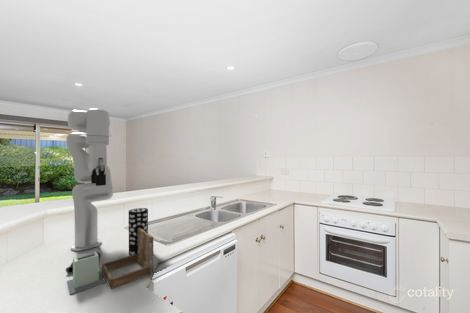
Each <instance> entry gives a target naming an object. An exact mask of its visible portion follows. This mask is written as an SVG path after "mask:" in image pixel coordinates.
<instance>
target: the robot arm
mask: <svg viewBox="0 0 470 313" xmlns="http://www.w3.org/2000/svg"><path fill="white" fill-rule="evenodd" d="M110 124H111V120H110V114H109V112H108V111H107V110H105V109H102V108H101V109H100V108H89V109H87V110H80V109H73V110H70V112H69V113H68V115H67V125H68V127H69V129H70V130H73V131H77V132H72V133H68V134H67V136H66V138H65V139H66V141H65V142H66V146H67V147H66V148H67V150H68V152H69V154H70V156H71V158H72V161H73V162H72V163H73V173H74V179H75V181H76V182H77V183H80V184H76V185H75V186H73V188H72V189H71V195H72V196H71V197H72V202H73V206H74V208H73V209H74V211H73V212H74V243H73V244H71V246H70V249H71V250H72V251H74V252H81V251H82V252H83V251H87V250H91V249H94V248H96V247H99V246H100V245H101V244H102V240H101V239H100V238H98V233H99V232H98V208H97V207H96V205H94V204H93V202H100V201H101V202H102V201H107V200H110V199H112V198H113V196H114V188H113V180H112V174H111V170H110V167H109V166H108V165H107V163H108V162H107V161H108V158H107V157H108V155H107V154H108V153H107V146H109V145H110ZM85 149H88V151H86V150H85Z"/></svg>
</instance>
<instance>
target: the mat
mask: <svg viewBox="0 0 470 313" xmlns="http://www.w3.org/2000/svg"><path fill="white" fill-rule="evenodd" d="M66 283H67V289H68V293H69V296H72V295H74V294H77V293H81V292H84V291H86V290H89V289H92V288H94V287H95V288H96V287H98V286H100V285H104V284H106V280H105V279H104V276H103V275H102V272H101V271H100V270H99V280H98V281H95V282H92V283H89V284H86V285H83V286H80V287H78V288H74V284H73V278H72V279H69V280H67V281H66Z"/></svg>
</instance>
